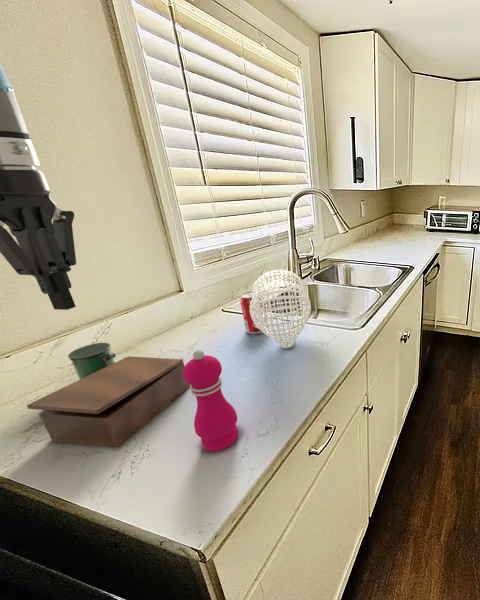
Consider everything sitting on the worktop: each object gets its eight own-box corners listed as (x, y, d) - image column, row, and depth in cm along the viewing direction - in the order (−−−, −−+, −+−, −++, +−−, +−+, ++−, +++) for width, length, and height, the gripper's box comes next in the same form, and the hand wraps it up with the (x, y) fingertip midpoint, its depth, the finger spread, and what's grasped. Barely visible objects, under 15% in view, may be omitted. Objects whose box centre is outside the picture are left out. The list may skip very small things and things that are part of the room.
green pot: (69, 393, 79) (53, 357, 75) (100, 375, 86) (86, 341, 82) (107, 395, 77) (93, 359, 74) (135, 377, 85) (123, 343, 81)
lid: (98, 414, 59) (97, 410, 58) (27, 408, 60) (26, 405, 60) (183, 362, 78) (182, 359, 78) (128, 359, 80) (128, 356, 80)
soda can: (255, 337, 105) (247, 299, 100) (241, 331, 109) (234, 295, 104) (273, 328, 111) (267, 293, 106) (260, 324, 114) (254, 289, 110)
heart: (261, 331, 109) (249, 267, 101) (308, 324, 114) (301, 262, 106) (258, 377, 84) (243, 296, 76) (319, 365, 89) (310, 288, 81)
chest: (118, 447, 63) (106, 418, 60) (52, 441, 64) (37, 413, 62) (190, 385, 81) (183, 362, 78) (137, 382, 82) (129, 359, 80)
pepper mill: (219, 458, 60) (193, 365, 53) (191, 448, 62) (162, 357, 55) (249, 431, 66) (229, 344, 59) (222, 422, 68) (200, 338, 61)
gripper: (-27, 167, 44) (42, 324, 53) (72, 169, 57) (116, 296, 65) (-73, 168, 45) (3, 322, 54) (35, 170, 57) (83, 295, 66)
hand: (65, 307), depth 59 cm, fingers closed
